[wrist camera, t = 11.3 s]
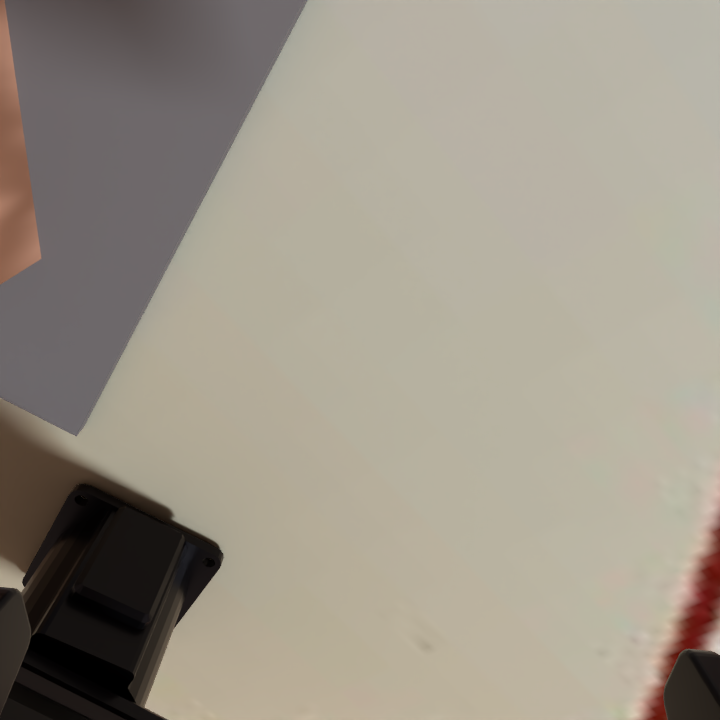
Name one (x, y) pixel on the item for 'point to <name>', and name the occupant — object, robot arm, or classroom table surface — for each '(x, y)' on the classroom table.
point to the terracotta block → (13, 172)
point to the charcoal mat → (117, 170)
